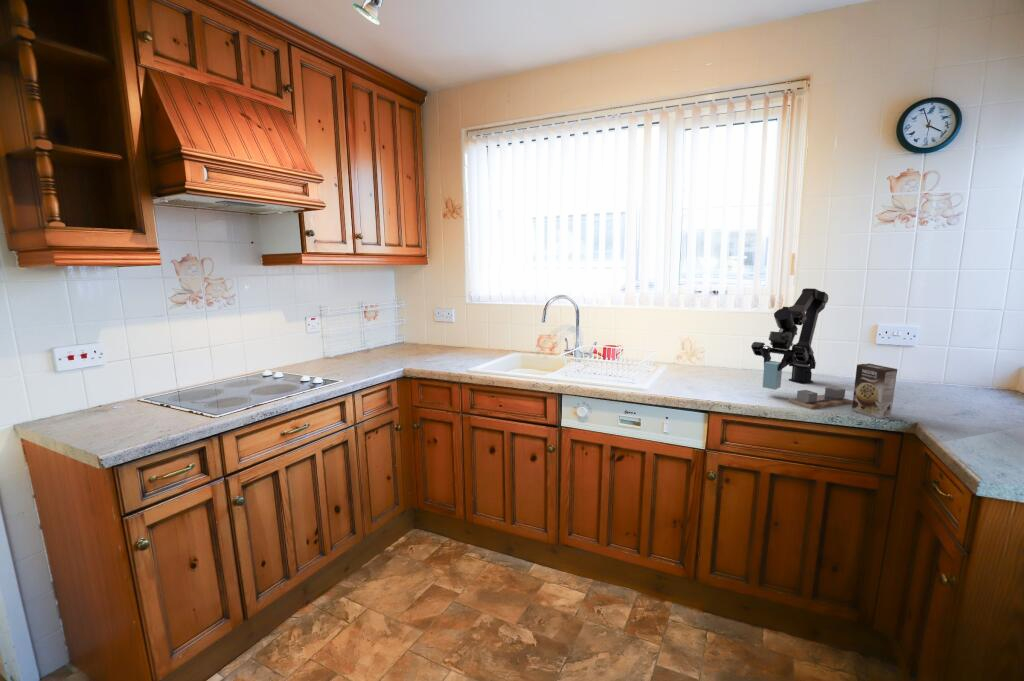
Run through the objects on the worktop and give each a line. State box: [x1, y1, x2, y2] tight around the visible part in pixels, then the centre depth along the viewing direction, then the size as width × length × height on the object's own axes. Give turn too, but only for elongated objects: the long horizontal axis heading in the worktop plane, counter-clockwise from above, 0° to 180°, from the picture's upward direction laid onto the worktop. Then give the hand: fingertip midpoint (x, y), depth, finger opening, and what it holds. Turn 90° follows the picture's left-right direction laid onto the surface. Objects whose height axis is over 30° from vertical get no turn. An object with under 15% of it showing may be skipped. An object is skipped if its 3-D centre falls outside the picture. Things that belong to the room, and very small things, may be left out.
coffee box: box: [851, 363, 898, 419], centre depth 158 cm, size 9×6×16 cm
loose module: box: [762, 360, 783, 390], centre depth 180 cm, size 4×5×10 cm
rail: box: [797, 396, 845, 404], centre depth 172 cm, size 18×4×1 cm, turn 109°
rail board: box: [787, 394, 853, 410], centre depth 172 cm, size 20×9×1 cm, turn 109°
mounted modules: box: [796, 386, 846, 402], centre depth 172 cm, size 18×4×3 cm, turn 109°
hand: (771, 369), depth 179 cm, fingers closed on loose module, 4 cm apart
